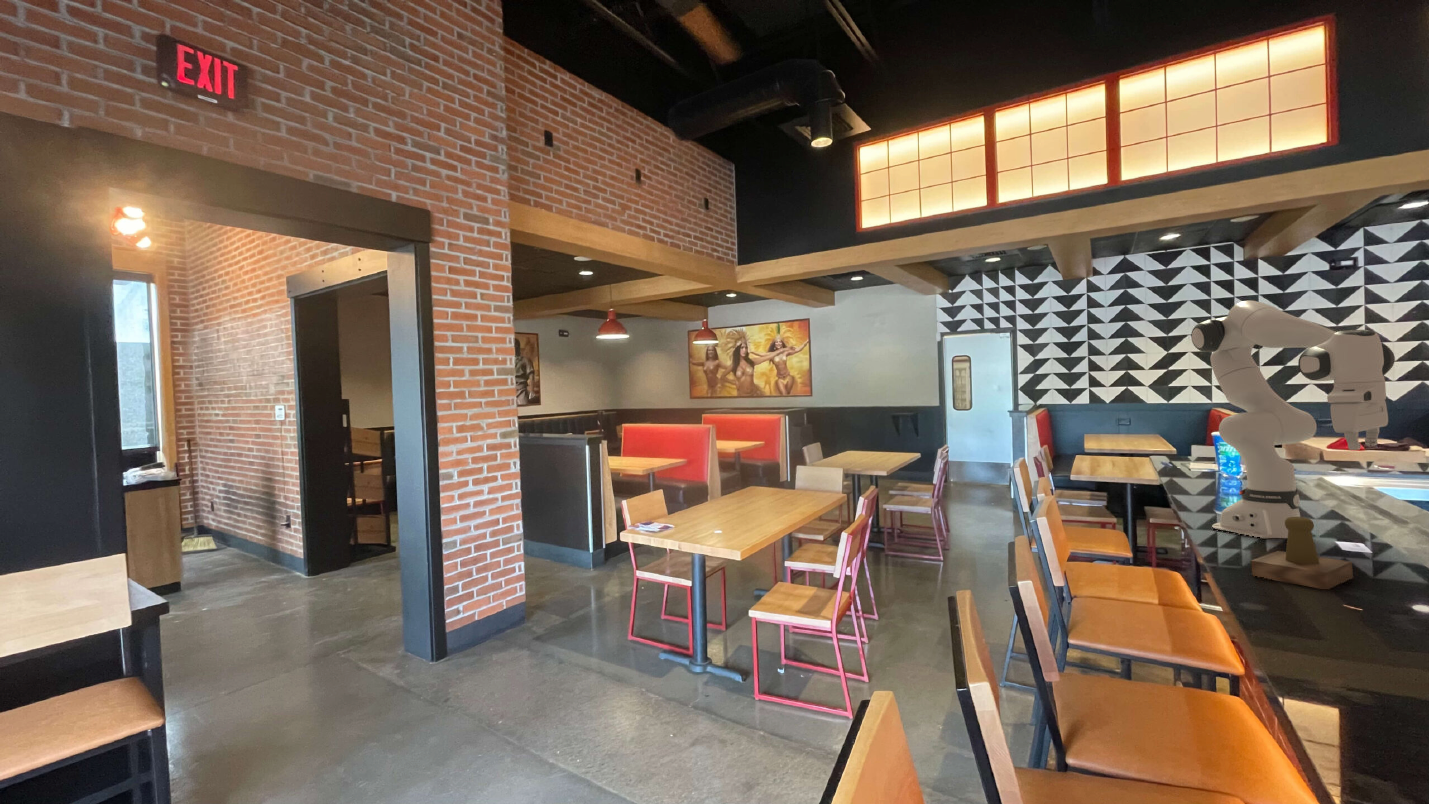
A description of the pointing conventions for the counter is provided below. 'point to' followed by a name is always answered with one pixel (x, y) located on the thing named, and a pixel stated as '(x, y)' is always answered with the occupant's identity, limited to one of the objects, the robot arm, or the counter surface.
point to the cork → (1300, 541)
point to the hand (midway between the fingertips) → (1363, 447)
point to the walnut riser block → (1302, 571)
